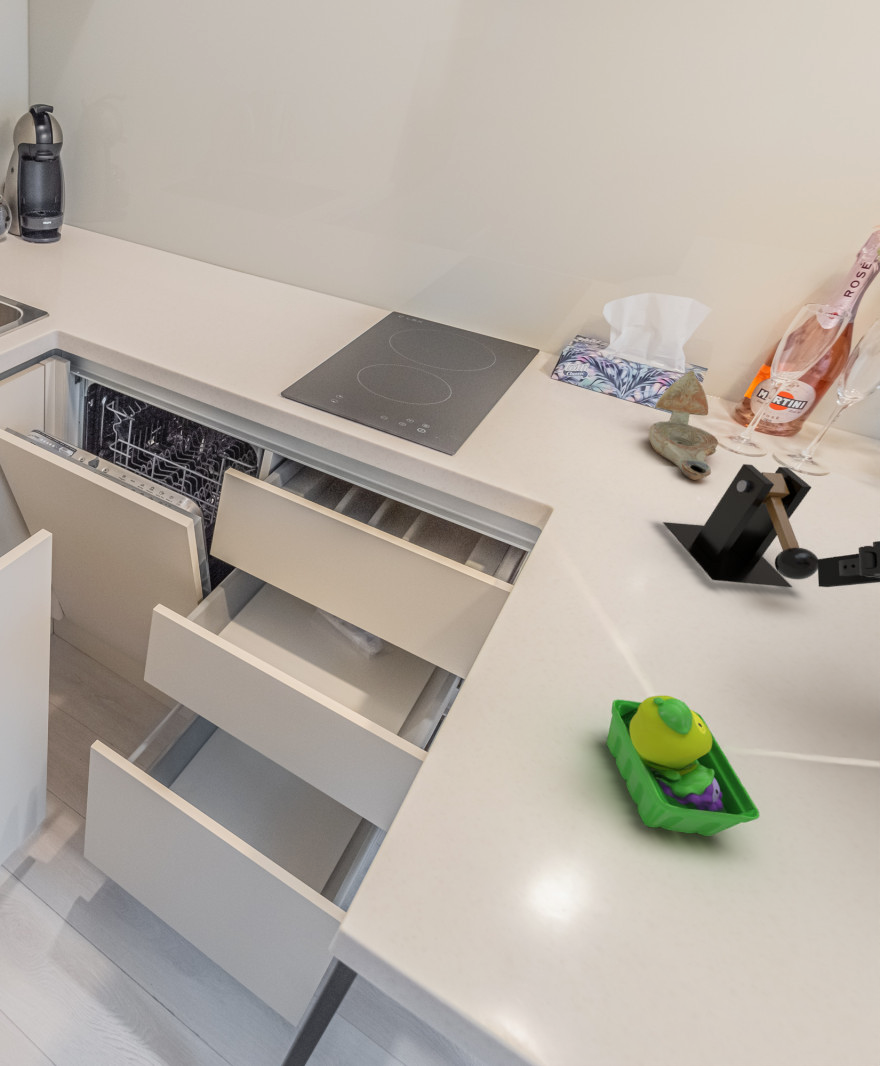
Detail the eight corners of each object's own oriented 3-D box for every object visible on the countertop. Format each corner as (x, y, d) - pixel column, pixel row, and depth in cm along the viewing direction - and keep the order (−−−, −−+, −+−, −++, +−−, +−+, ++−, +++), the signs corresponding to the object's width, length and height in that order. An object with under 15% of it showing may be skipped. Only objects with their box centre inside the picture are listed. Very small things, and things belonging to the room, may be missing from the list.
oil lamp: (691, 431, 124) (723, 375, 118) (723, 498, 108) (763, 436, 102) (631, 421, 126) (659, 365, 120) (654, 484, 110) (688, 423, 104)
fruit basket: (732, 855, 63) (813, 772, 57) (618, 836, 64) (684, 753, 58) (671, 745, 72) (735, 662, 66) (572, 730, 73) (625, 648, 67)
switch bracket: (786, 595, 91) (854, 507, 83) (707, 587, 92) (767, 500, 84) (729, 535, 100) (785, 452, 93) (658, 529, 101) (708, 446, 93)
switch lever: (806, 586, 85) (833, 572, 82) (772, 583, 86) (797, 569, 82) (768, 487, 92) (792, 471, 88) (737, 485, 92) (759, 468, 89)
